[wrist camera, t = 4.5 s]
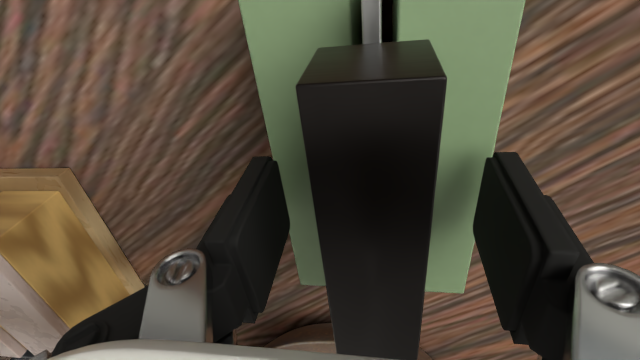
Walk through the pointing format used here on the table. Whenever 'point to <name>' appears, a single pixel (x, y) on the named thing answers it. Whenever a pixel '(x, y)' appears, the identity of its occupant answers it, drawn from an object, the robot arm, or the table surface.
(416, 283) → the bench scraper
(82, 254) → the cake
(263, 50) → the knife stand
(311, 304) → the table surface
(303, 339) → the plant saucer
